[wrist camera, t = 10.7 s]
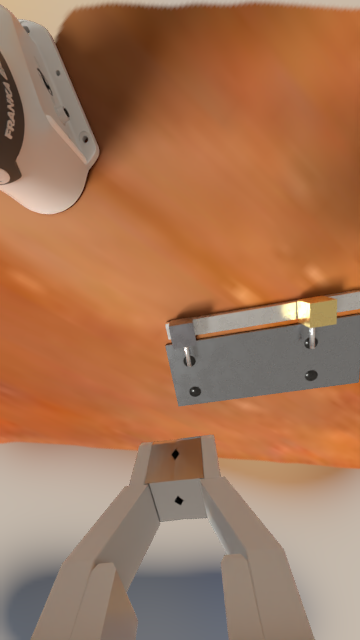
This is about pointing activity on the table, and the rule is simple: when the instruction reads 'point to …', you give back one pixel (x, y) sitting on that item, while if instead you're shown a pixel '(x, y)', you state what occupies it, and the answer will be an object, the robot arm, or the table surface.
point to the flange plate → (267, 362)
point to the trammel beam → (244, 319)
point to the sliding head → (317, 314)
